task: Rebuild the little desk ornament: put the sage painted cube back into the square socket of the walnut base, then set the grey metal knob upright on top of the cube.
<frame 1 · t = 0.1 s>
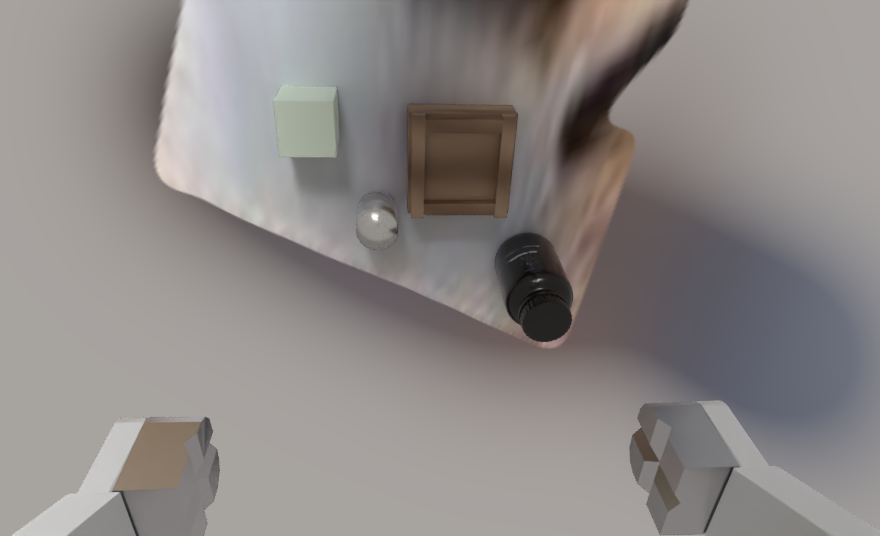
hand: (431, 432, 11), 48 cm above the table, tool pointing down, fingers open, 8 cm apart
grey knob: (377, 209, 61), on the table
sage cube: (311, 112, 56), on the table
supplement bottle: (523, 257, 66), on the table
walnut base: (457, 154, 59), on the table
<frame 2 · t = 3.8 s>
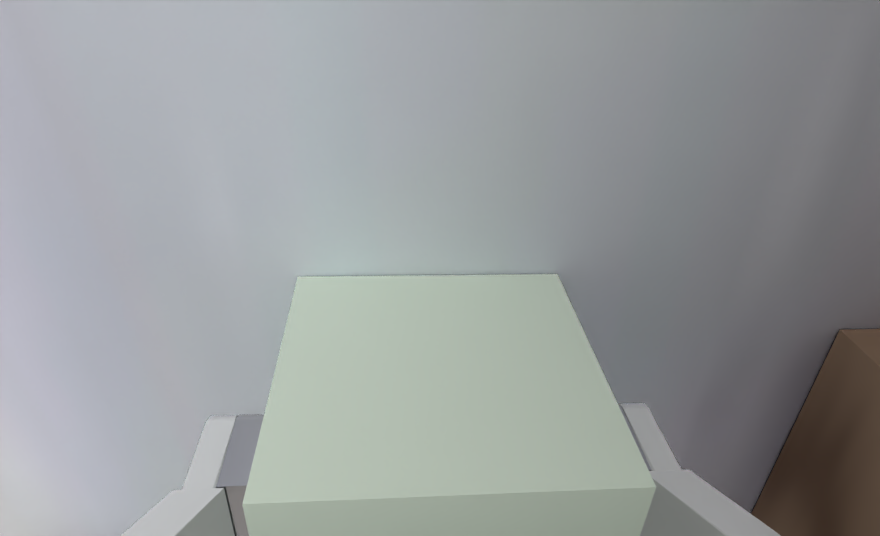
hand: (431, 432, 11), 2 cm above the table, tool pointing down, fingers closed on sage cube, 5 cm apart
sage cube: (426, 374, 13), on the table, touching gripper
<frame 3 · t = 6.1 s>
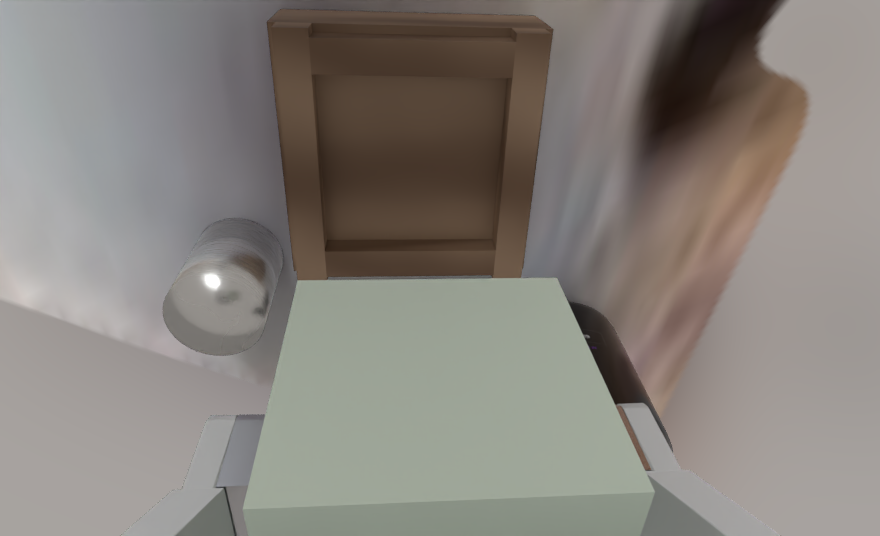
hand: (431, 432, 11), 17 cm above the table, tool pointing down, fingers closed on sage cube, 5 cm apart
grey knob: (240, 255, 28), on the table
sage cube: (426, 377, 13), point 15 cm above the table, touching gripper
supplement bottle: (551, 345, 33), on the table
walnut base: (409, 136, 26), on the table
when the fingers open (6 cm above the table, at t = 8.6 s): sage cube stays where it is, resting on walnut base.
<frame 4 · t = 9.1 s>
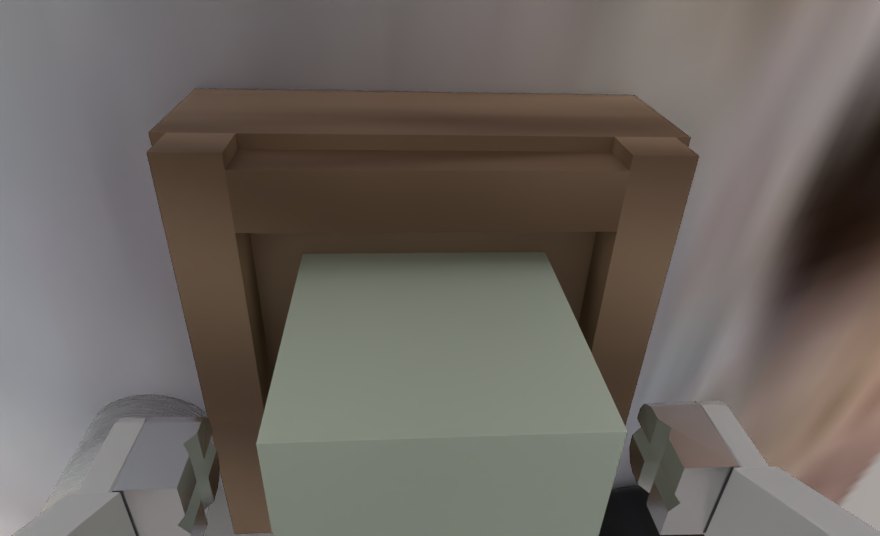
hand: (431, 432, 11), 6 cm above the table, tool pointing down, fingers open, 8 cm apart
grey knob: (159, 442, 19), on the table
sage cube: (423, 348, 13), point 3 cm above the table, touching walnut base
supplement bottle: (617, 532, 23), on the table
walnut base: (418, 278, 16), on the table
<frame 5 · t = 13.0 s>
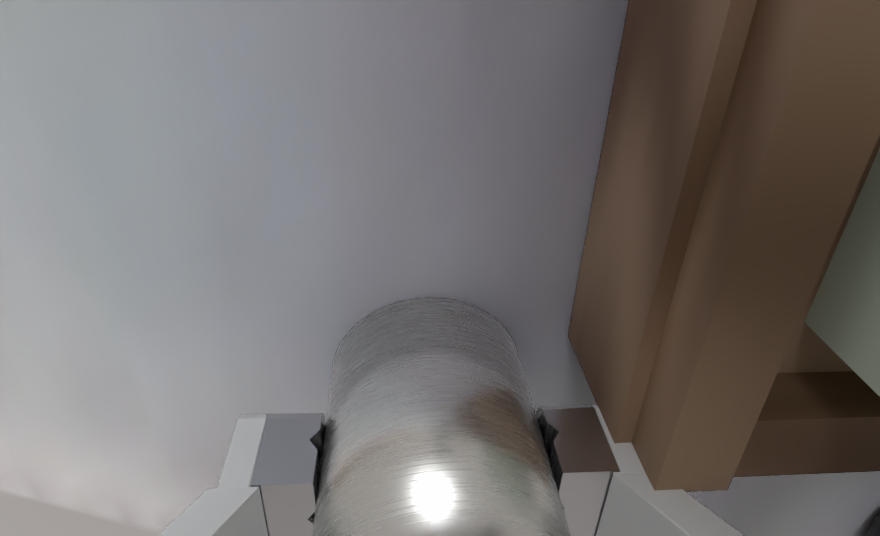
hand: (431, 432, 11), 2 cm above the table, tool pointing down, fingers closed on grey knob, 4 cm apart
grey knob: (426, 375, 13), on the table, touching gripper
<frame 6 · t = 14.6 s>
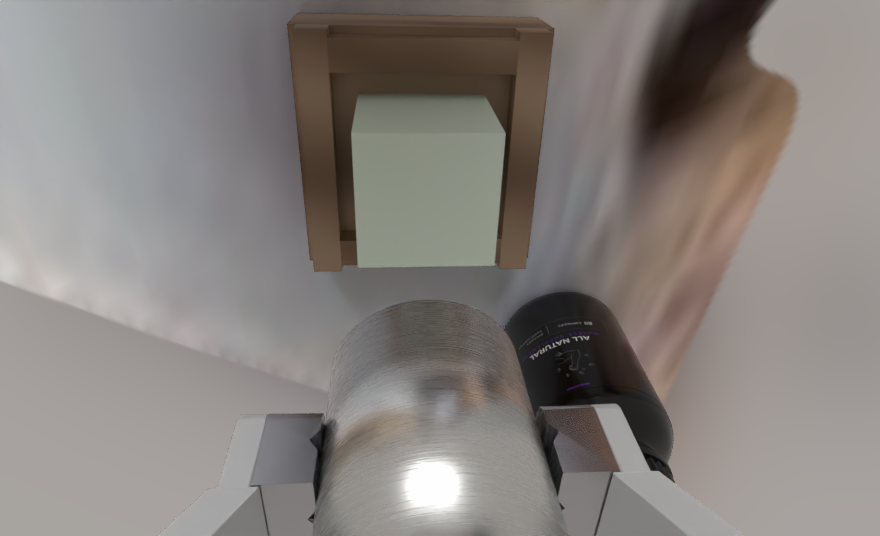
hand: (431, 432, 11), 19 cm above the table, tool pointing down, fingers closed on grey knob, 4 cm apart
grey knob: (425, 377, 13), point 17 cm above the table, touching gripper
sage cube: (421, 154, 25), point 3 cm above the table, touching walnut base
supplement bottle: (555, 335, 34), on the table
walnut base: (418, 132, 27), on the table
when the fingers open (11 cm above the table, at t = 16.5 s): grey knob drops 1 cm, resting on sage cube.
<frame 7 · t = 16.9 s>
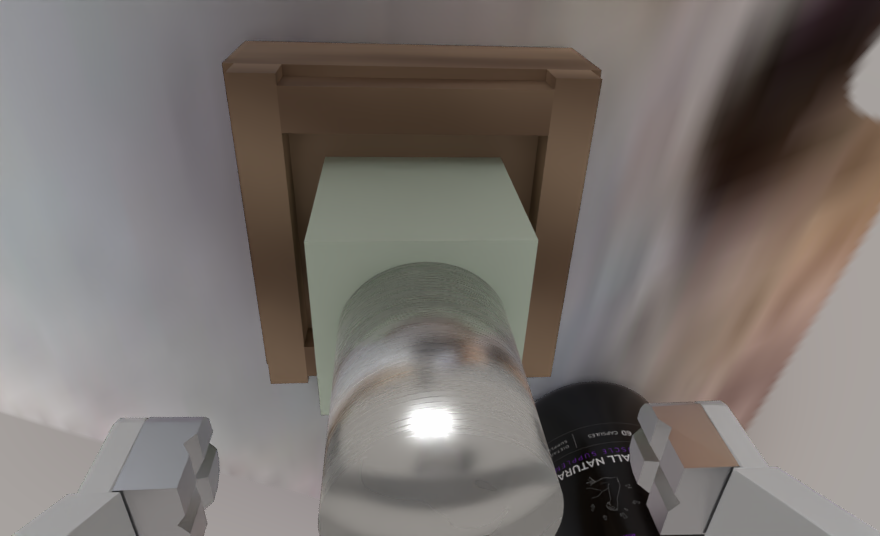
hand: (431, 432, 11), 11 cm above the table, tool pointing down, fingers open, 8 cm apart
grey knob: (423, 335, 14), point 8 cm above the table, touching sage cube
sage cube: (413, 234, 18), point 3 cm above the table, touching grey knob, walnut base
supplement bottle: (578, 427, 28), on the table
walnut base: (410, 194, 21), on the table
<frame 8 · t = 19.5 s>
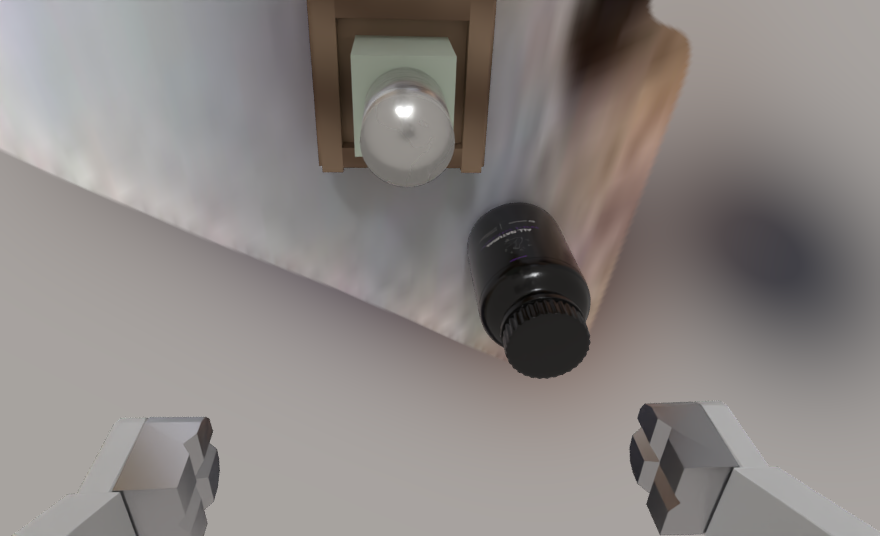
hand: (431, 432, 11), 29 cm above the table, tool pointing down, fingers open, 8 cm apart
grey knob: (405, 108, 29), point 8 cm above the table, touching sage cube
sage cube: (401, 82, 33), point 3 cm above the table, touching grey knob, walnut base
supplement bottle: (511, 240, 43), on the table
walnut base: (401, 70, 36), on the table
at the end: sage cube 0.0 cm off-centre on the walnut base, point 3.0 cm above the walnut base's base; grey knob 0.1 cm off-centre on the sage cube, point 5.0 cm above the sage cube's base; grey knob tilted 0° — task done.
